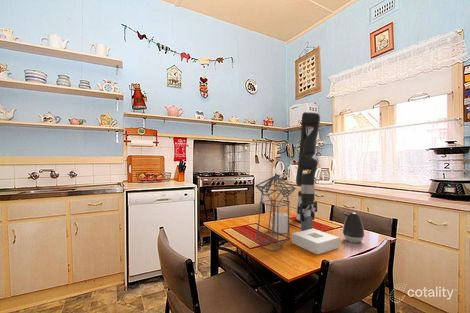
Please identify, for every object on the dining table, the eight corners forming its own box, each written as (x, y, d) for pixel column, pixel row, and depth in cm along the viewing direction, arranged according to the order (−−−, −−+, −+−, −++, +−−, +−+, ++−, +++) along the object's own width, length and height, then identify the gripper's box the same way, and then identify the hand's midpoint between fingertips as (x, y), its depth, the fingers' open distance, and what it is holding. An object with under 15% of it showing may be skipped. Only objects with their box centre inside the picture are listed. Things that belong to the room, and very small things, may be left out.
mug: (266, 231, 136) (266, 214, 136) (269, 227, 143) (270, 211, 143) (286, 234, 131) (287, 216, 131) (289, 230, 139) (289, 213, 139)
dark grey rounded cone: (345, 236, 130) (345, 209, 130) (365, 240, 123) (366, 212, 123) (339, 241, 122) (340, 212, 122) (361, 246, 115) (362, 215, 115)
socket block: (291, 243, 118) (291, 233, 118) (312, 237, 127) (312, 228, 127) (317, 254, 105) (317, 243, 105) (339, 247, 113) (339, 237, 113)
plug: (300, 233, 134) (301, 216, 134) (306, 232, 136) (306, 215, 136) (307, 235, 130) (307, 218, 130) (312, 234, 132) (312, 217, 132)
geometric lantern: (269, 239, 123) (272, 174, 123) (295, 248, 112) (298, 177, 112) (249, 246, 112) (252, 174, 112) (275, 257, 101) (279, 178, 101)
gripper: (310, 190, 140) (310, 217, 139) (294, 192, 132) (293, 220, 132) (321, 192, 133) (321, 220, 133) (304, 193, 126) (304, 223, 125)
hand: (307, 220), depth 132 cm, fingers open, 8 cm apart
